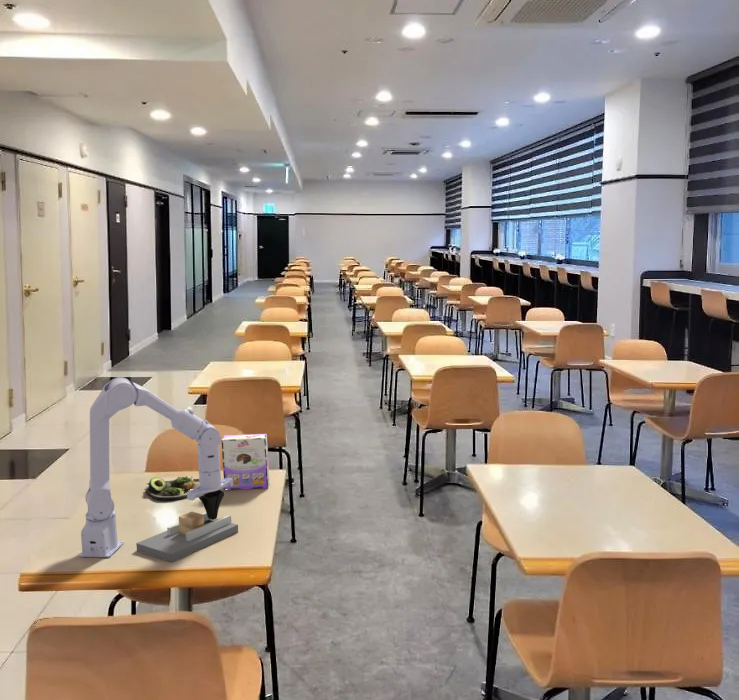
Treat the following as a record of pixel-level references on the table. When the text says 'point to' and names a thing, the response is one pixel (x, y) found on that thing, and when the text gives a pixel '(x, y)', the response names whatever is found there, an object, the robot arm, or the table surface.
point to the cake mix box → (246, 461)
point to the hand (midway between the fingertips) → (212, 518)
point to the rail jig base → (187, 539)
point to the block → (190, 522)
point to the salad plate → (170, 488)
